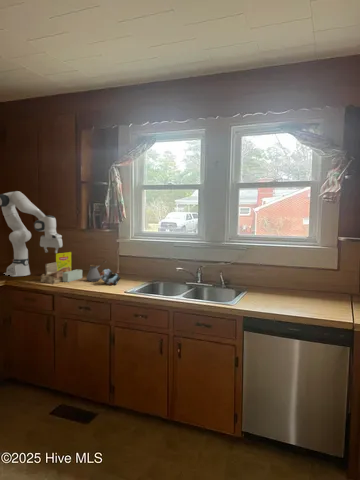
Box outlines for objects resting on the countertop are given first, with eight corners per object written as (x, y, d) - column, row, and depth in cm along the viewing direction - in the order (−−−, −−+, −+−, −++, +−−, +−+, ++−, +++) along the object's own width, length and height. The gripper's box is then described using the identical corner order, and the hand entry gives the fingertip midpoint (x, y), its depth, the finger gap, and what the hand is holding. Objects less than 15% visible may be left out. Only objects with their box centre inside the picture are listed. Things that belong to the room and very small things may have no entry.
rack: (40, 282, 276) (40, 274, 275) (56, 277, 293) (56, 270, 292) (53, 283, 271) (53, 276, 270) (69, 279, 288) (69, 272, 288)
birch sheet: (45, 281, 279) (45, 264, 277) (55, 278, 289) (55, 262, 287) (47, 281, 278) (47, 264, 277) (56, 279, 288) (56, 262, 287)
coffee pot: (94, 282, 277) (94, 264, 275) (83, 281, 282) (83, 262, 280) (111, 278, 295) (111, 260, 294) (100, 276, 301) (100, 259, 299)
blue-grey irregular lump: (114, 286, 266) (105, 270, 264) (103, 290, 272) (94, 275, 269) (123, 277, 280) (115, 262, 277) (112, 281, 285) (103, 267, 282)
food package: (56, 276, 297) (56, 253, 295) (55, 276, 298) (55, 253, 296) (71, 274, 309) (71, 252, 307) (71, 274, 310) (70, 251, 308)
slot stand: (62, 281, 279) (62, 272, 278) (77, 277, 296) (77, 269, 296) (67, 282, 277) (67, 273, 277) (82, 277, 294) (82, 269, 294)
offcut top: (51, 277, 276) (51, 273, 276) (58, 275, 286) (58, 270, 286) (56, 277, 275) (56, 273, 275) (63, 275, 285) (63, 271, 285)
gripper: (37, 235, 281) (38, 252, 282) (58, 236, 273) (58, 253, 275) (43, 235, 287) (43, 251, 288) (63, 235, 279) (64, 252, 281)
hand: (51, 252), depth 281 cm, fingers open, 8 cm apart
